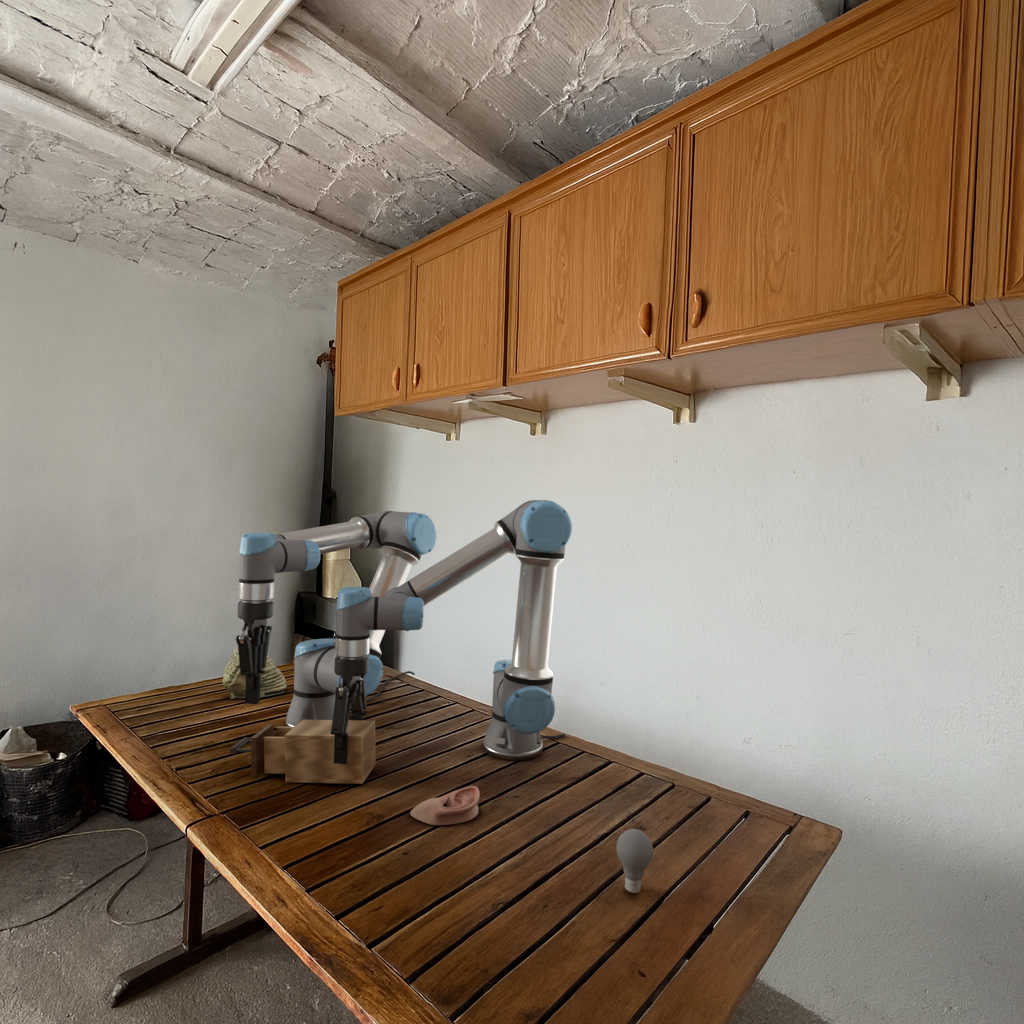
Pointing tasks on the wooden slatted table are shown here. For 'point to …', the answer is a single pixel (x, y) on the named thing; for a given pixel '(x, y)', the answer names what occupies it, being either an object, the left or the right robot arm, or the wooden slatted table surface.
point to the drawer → (265, 750)
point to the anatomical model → (449, 807)
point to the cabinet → (329, 753)
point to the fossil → (269, 681)
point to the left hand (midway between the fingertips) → (252, 702)
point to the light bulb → (634, 857)
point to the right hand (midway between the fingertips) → (348, 753)
